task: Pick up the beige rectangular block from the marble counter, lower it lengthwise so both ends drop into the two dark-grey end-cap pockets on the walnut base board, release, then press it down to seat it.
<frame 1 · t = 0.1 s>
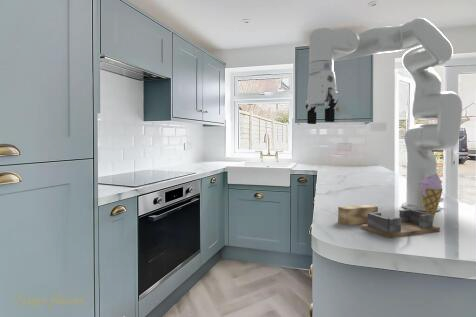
hand: (320, 122, 100), 31 cm above the table, fingers open, 9 cm apart
ice cream cone: (429, 220, 99), on the table
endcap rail: (399, 229, 87), on the table
beige rectangular block: (357, 222, 95), on the table
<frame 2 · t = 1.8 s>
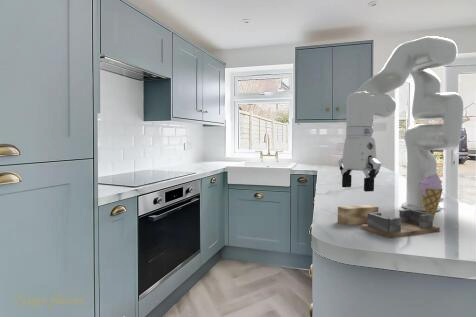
hand: (357, 189, 95), 10 cm above the table, fingers open, 9 cm apart
nothing on the table moved.
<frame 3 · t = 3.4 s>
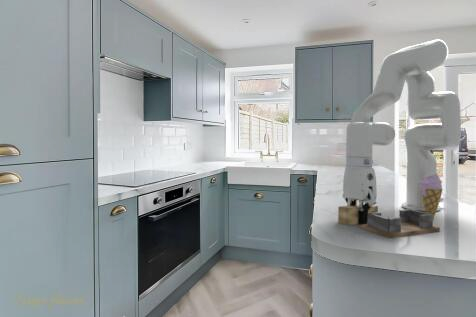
hand: (357, 221, 95), 0 cm above the table, fingers closed on beige rectangular block, 3 cm apart
beige rectangular block: (357, 222, 95), on the table, touching gripper
everything else where it was.
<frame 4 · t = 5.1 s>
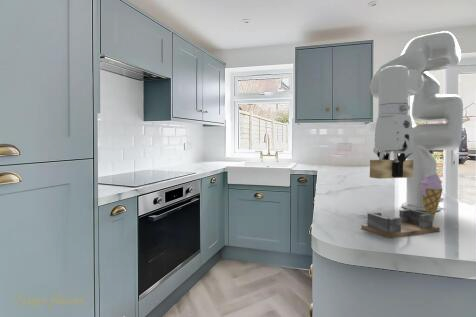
hand: (391, 175, 88), 15 cm above the table, fingers closed on beige rectangular block, 3 cm apart
beige rectangular block: (391, 177, 88), point 15 cm above the table, touching gripper
everything else where it was.
when the fingers open (3 cm above the table, at t = 7.0 s): beige rectangular block drops 1 cm, resting on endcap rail.
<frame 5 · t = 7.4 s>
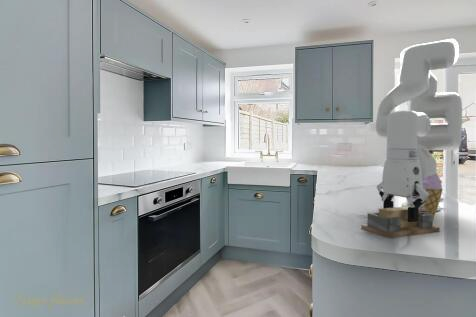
hand: (399, 217, 87), 3 cm above the table, fingers open, 7 cm apart
beige rectangular block: (399, 226, 87), point 1 cm above the table, touching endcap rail
everything else where it was.
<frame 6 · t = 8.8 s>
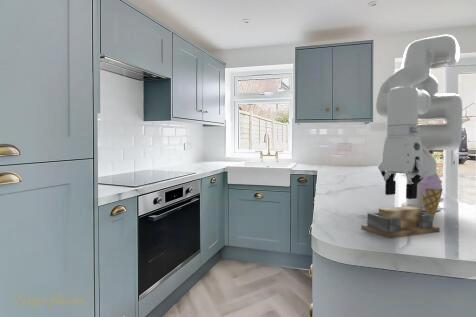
hand: (400, 195, 86), 10 cm above the table, fingers open, 6 cm apart
nothing on the table moved.
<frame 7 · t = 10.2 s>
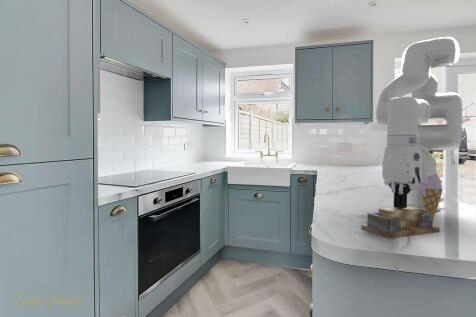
hand: (400, 207, 86), 6 cm above the table, fingers closed
nothing on the table moved.
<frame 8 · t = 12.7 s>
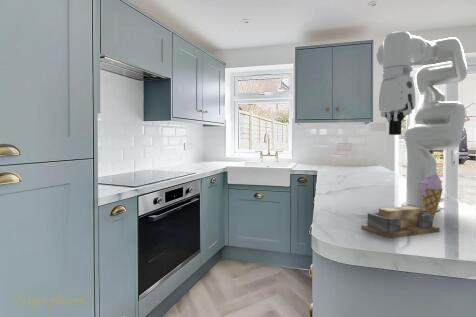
hand: (395, 134, 95), 27 cm above the table, fingers closed
nothing on the table moved.
at the end: beige rectangular block 0.0 cm off-centre on the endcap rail, point 1.0 cm above the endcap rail's base; beige rectangular block tilted 0°; the gripper is holding nothing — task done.
